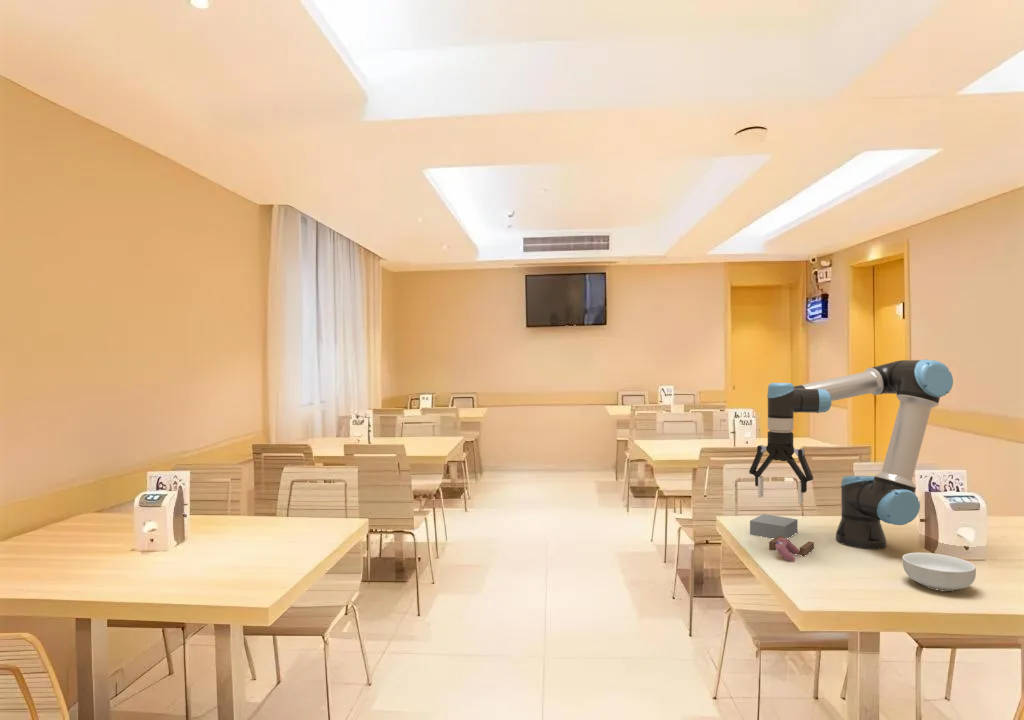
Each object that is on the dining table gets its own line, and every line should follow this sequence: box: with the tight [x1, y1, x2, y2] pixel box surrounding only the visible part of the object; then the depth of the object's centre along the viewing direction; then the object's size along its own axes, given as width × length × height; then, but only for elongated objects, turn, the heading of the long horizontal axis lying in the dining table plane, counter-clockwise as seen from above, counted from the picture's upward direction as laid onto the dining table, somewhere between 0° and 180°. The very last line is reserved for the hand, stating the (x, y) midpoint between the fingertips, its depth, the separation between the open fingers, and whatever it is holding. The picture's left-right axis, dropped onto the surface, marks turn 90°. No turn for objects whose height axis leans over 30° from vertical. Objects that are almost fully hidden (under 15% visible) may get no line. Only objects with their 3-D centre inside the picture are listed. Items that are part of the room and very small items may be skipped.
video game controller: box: [775, 538, 800, 563], centre depth 193 cm, size 10×5×7 cm, turn 145°
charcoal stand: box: [749, 513, 799, 539], centre depth 220 cm, size 12×14×5 cm
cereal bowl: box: [901, 552, 977, 592], centre depth 168 cm, size 17×17×7 cm
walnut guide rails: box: [768, 536, 815, 557], centre depth 201 cm, size 11×10×2 cm
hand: (780, 499), depth 193 cm, fingers open, 11 cm apart
